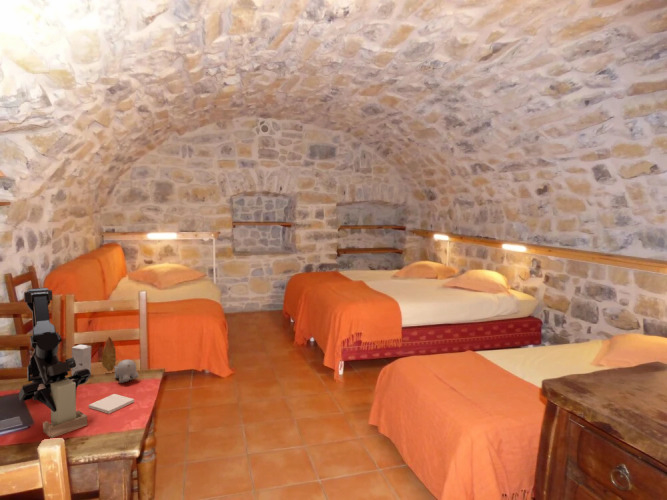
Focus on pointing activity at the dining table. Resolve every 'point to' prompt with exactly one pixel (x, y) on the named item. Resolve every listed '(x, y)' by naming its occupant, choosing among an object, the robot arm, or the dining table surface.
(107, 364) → the stone tool
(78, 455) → the dining table surface
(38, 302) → the robot arm
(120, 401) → the ceramic tile
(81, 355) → the skincare box
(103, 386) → the dining table surface
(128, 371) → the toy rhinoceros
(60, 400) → the sage block
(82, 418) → the birch stall
